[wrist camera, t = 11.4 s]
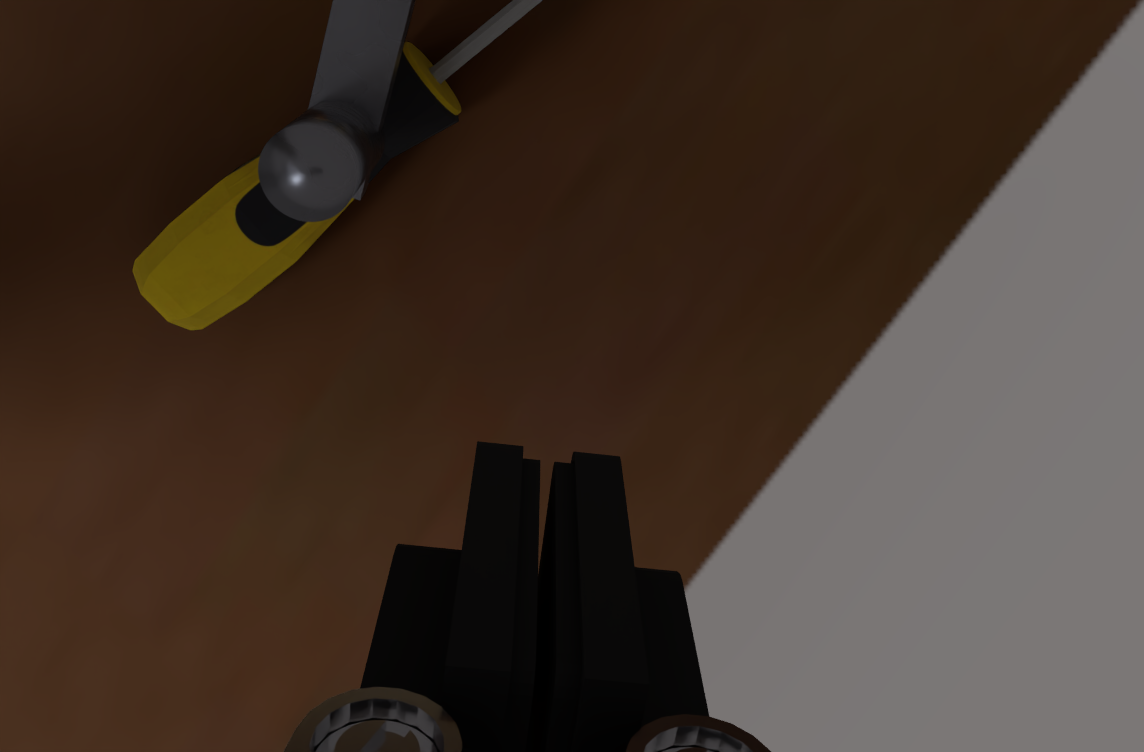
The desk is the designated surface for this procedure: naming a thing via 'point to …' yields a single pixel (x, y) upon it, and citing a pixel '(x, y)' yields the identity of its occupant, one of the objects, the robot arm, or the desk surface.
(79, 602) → the desk surface
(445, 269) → the desk surface
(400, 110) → the screwdriver
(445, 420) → the desk surface
